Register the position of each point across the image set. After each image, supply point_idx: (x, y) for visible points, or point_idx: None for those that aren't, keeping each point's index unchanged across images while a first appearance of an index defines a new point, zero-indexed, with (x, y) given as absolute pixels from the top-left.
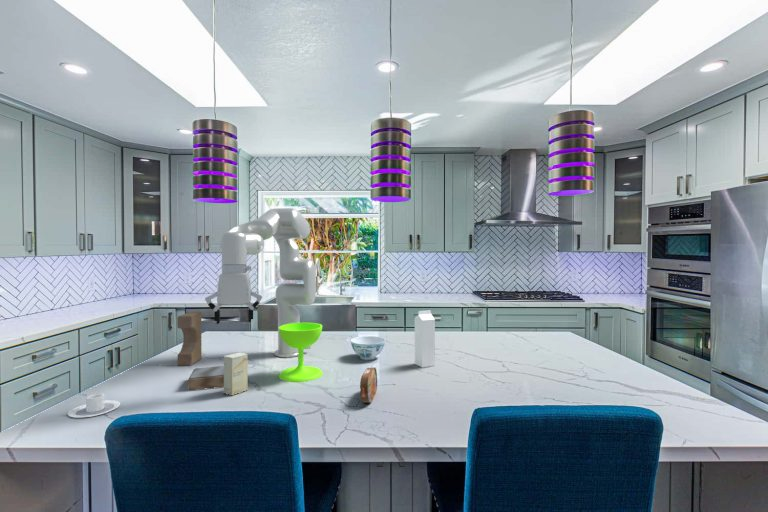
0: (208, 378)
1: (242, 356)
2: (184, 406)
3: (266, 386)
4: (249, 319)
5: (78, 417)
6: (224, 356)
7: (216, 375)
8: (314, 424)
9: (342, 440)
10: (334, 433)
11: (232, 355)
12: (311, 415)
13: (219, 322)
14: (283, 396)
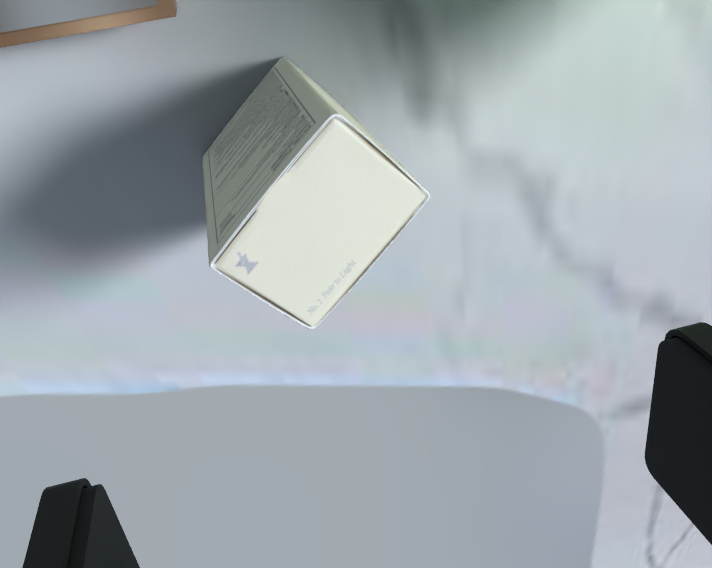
0: (13, 44)
1: (387, 243)
2: (36, 334)
3: (466, 44)
4: (688, 501)
5: None
6: (217, 271)
7: (73, 17)
8: (635, 483)
9: (683, 556)
10: (675, 527)
11: (292, 247)
12: (641, 425)
13: (129, 552)
14: (559, 231)
